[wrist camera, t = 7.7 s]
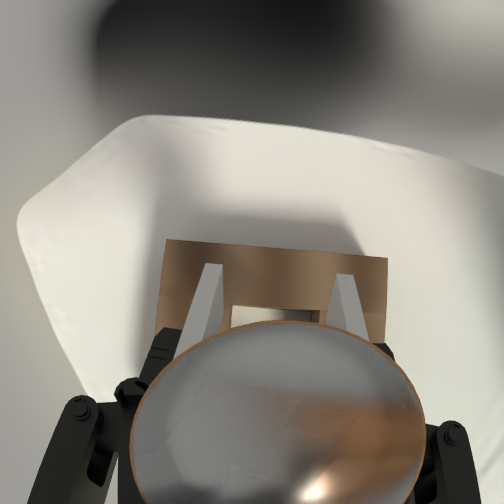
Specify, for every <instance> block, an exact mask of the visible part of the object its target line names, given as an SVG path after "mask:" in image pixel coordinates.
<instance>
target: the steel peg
mask: <svg viewBox="0 0 504 504" xmlns="http://www.w3.org/2000/svg"><path fill="white" fill-rule="evenodd" d="M425 448H426V426H425V418H424V413H423V409H422V406H421V402H420V399H419V397H418V395H417V393H416V391H415V388H414V386H413V384H412V383H411V381H410V380H409V378H408V377H407V376H406V374H405V373H404V371H403V370H402V369H401V368H400V367H399V366H398V365H397V363H396V362H395V361H394V360H393V359H392V358H391V357H390V356H388V355H387V354H386V353H385V352H383V351H382V350H381V349H379V348H378V347H377V346H375V345H374V344H372V343H370V342H368V341H367V340H365V339H363V338H362V337H360V336H358V335H355V334H353V333H350V332H348V331H345V330H343V329H340V328H336V327H332V326H328V325H325V324H321V323H313V322H306V321H294V320H272V321H260V322H255V323H251V324H247V325H243V326H238V327H235V328H231V329H229V330H226V331H223V332H220V333H218V334H215V335H212V336H210V337H208V338H206V339H205V340H203V341H201V342H199V343H197V344H195V345H193V346H192V347H190V348H189V349H187V350H186V351H184V352H183V353H181V354H180V355H178V356H177V357H176V358H175V359H174V360H173V361H171V362H170V363H169V364H168V365H167V366H166V367H165V368H164V369H163V370H162V371H161V372H160V373H159V374H158V376H157V377H156V378H155V379H154V380H153V382H152V383H151V384H150V386H149V387H148V389H147V391H146V392H145V394H144V396H143V397H142V399H141V401H140V403H139V406H138V408H137V411H136V413H135V416H134V420H133V424H132V428H131V433H130V448H129V449H130V460H131V467H132V471H133V475H134V479H135V482H136V484H137V487H138V489H139V492H140V494H141V496H142V498H143V499H144V501H145V503H146V504H404V502H405V501H406V499H407V498H408V496H409V494H410V493H411V491H412V489H413V487H414V485H415V483H416V481H417V479H418V476H419V473H420V470H421V467H422V464H423V459H424V454H425Z"/></svg>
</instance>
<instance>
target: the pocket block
mask: <svg viewBox="0 0 504 504" xmlns="http://www.w3.org/2000/svg"><path fill="white" fill-rule="evenodd" d="M206 263H211V264H222V265H223V301H224V311H223V316H222V320H221V325H220V329H219V333H220V332H223V331H226V330H229V329H230V326H231V315H232V305H237V306H247V307H259V308H271V309H283V310H297V311H312V314H311V322H313V323H321V324H325V325H326V315H327V311H328V307H329V303H330V299H331V295H332V291H333V287H334V283H335V279H336V275H337V274H348V275H353V276H354V280H355V284H356V288H357V292H358V296H359V300H360V304H361V308H362V312H363V316H364V320H365V325H366V329H367V334H368V338H369V342H370V343H384V338H385V324H386V306H387V278H388V258H383V257H371V256H360V255H349V254H337V253H326V252H314V251H302V250H291V249H279V248H267V247H255V246H243V245H231V244H219V243H207V242H194V241H182V240H169V239H166V246H165V253H164V260H163V268H162V275H161V283H160V292H159V300H158V310H157V319H156V330H155V336H156V335H157V334H158V333H159V332H160V331H161V330H162V329H163V328H164V327H167V328H174V329H182V330H183V328H184V325H185V322H186V319H187V316H188V313H189V310H190V307H191V304H192V301H193V298H194V295H195V292H196V289H197V286H198V284H199V281H200V278H201V275H202V272H203V269H204V266H205V264H206Z"/></svg>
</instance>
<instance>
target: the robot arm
mask: <svg viewBox="0 0 504 504" xmlns="http://www.w3.org/2000/svg"><path fill="white" fill-rule="evenodd" d="M223 311H224V301H223V265H222V264H211V263H206V264H205V266H204V269H203V272H202V275H201V278H200V281H199V284H198V286H197V289H196V292H195V295H194V298H193V301H192V304H191V307H190V310H189V313H188V316H187V319H186V322H185V325H184V328H183V330H182V329H174V328H167V327H164V328H163V329H162V330H161V331H160V332H159V333H158V334H157V335H156V336H155V338H154V340H153V343H152V345H151V349H150V350H149V353H148V357H147V358H146V361H145V363H144V366H143V368H142V371H141V374H140V376H139V378H137V377H134V378H128V379H126V380H124V381H122V382H121V383H120V384H119V385H118V386H117V387H116V390H115V393H114V396H115V398H116V399H117V402H105V403H96V401H95V400H94V399H93V398H91V397H89V396H84V395H80V396H76V397H73V398H72V399H71V400H69V401H68V403H67V404H66V406H65V408H64V410H63V412H62V414H61V417H60V419H59V421H58V424H57V426H56V428H55V431H54V433H53V436H52V438H51V440H50V443H49V445H48V448H47V450H46V453H45V455H44V458H43V460H42V463H41V466H40V468H39V471H38V474H37V476H36V479H35V482H34V485H33V488H32V491H31V493H30V496H29V499H28V503H27V504H104V503H105V499H106V495H107V492H108V489H109V485H110V482H111V478H112V474H113V471H114V468H115V465H116V461H117V458H118V504H146V503H145V501H144V499H143V498H142V496H141V494H140V492H139V489H138V487H137V484H136V482H135V479H134V475H133V471H132V467H131V460H130V449H129V448H130V433H131V428H132V424H133V420H134V416H135V413H136V411H137V408H138V406H139V403H140V401H141V399H142V397H143V396H144V394H145V392H146V391H147V389H148V387H149V386H150V384H151V383H152V382H153V380H154V379H155V378H156V377H157V376H158V374H159V373H160V372H161V371H162V370H163V369H164V368H165V367H166V366H167V365H168V364H169V363H170V362H171V361H173V360H174V359H175V358H176V357H177V356H178V355H180V354H181V353H183V352H184V351H186V350H187V349H189V348H190V347H192V346H193V345H195V344H197V343H199V342H201V341H203V340H205V339H206V338H208V337H210V336H212V335H215V334H218V333H219V329H220V325H221V320H222V316H223ZM326 325H328V326H332V327H336V328H340V329H343V330H345V331H348V332H350V333H353V334H355V335H358V336H360V337H362V338H363V339H365V340H367V341H368V342H369V338H368V334H367V329H366V325H365V320H364V316H363V312H362V308H361V304H360V300H359V296H358V292H357V288H356V284H355V280H354V276H353V275H348V274H337V275H336V279H335V283H334V287H333V291H332V295H331V299H330V303H329V307H328V311H327V315H326ZM372 344H374V345H375V346H377V347H378V348H379V349H381V350H382V351H383V352H385V353H386V354H387V355H388V356H390V357H391V358H392V359H393V360H394V361H395V359H394V355H393V353H392V351H391V350H390V348H389V347H388V346H387V344H386V343H372ZM425 426H426V448H425V454H424V459H423V464H422V467H421V470H420V473H419V476H418V479H417V481H416V483H415V485H414V487H413V489H412V491H411V493H410V494H409V496H408V498H407V499H406V501H405V502H404V504H481V498H480V492H479V486H478V481H477V475H476V470H475V465H474V461H473V456H472V451H471V447H470V443H469V439H468V435H467V432H466V430H465V428H464V427H463V426H462V425H461V424H460V423H458V422H456V421H446V422H444V423H442V424H441V425H440V426H434V425H429V424H425Z"/></svg>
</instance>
